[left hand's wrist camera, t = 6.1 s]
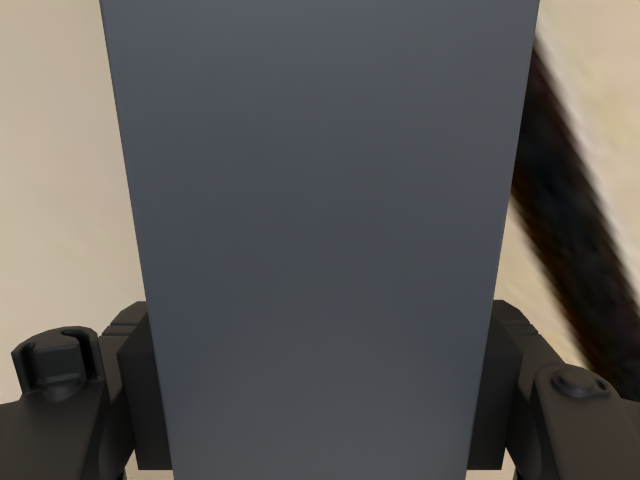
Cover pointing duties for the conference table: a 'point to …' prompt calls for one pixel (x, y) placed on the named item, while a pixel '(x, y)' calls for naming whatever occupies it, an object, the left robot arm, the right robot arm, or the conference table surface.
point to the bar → (319, 223)
